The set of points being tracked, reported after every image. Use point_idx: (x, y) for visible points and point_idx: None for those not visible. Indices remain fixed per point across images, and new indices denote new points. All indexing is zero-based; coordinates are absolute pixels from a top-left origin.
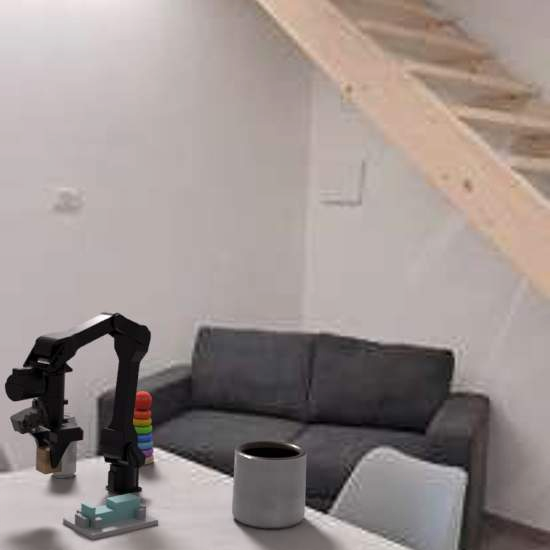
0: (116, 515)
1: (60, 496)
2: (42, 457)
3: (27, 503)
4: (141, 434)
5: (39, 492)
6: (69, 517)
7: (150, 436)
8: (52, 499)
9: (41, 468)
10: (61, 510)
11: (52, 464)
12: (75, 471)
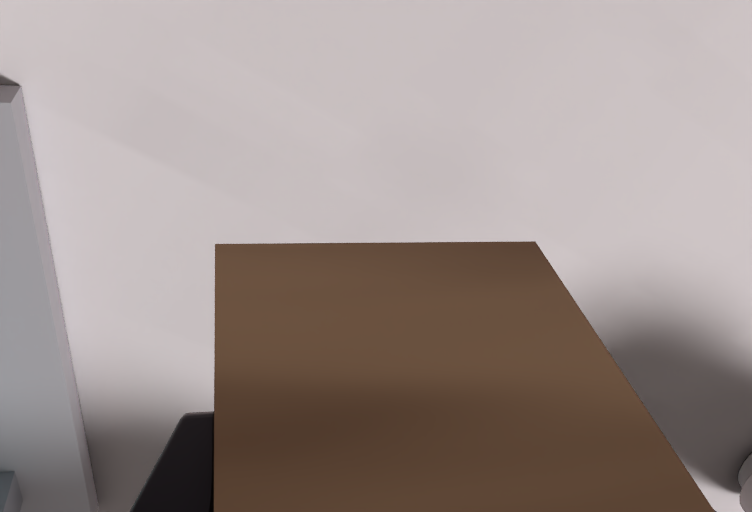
0: None
1: None
2: (376, 481)
3: (628, 104)
4: None
5: (717, 269)
6: (10, 158)
7: None
8: None
9: (360, 289)
10: (324, 219)
11: (152, 476)
12: (744, 510)
